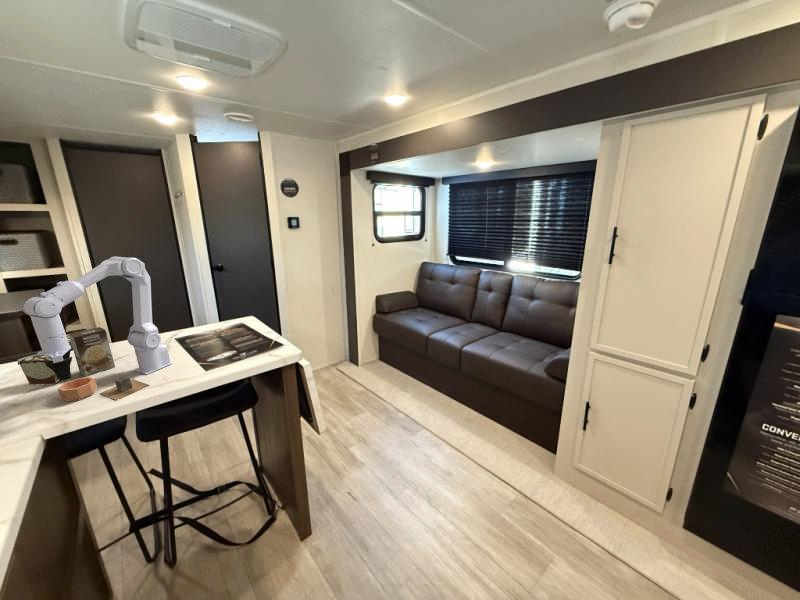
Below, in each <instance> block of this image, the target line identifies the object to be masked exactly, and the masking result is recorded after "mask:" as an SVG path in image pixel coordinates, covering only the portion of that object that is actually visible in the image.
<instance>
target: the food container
mask: <svg viewBox="0 0 800 600" xmlns="http://www.w3.org/2000/svg"><path fill="white" fill-rule="evenodd" d="M51 360H52V359H50V358H49V357H48V356H45V355H40V356H38V354H37V353H35V354H32V355H29V356H24V357H22V358H19V359H17V362H16V363H17V365H18V366H20V369H21V370H22V373H23V374H24V377H25V378H26V380H27V382H28V384H29V386H39V384H40V386H42V385H41V384H44V385H45V386H47V385H46V384H57V385H58V383H59V384H60V383H62V381H60V379H59V378H58V377H57V375H56V374H55V373H54V372H53V371H52V370H51V369H50V368H49V367H47V366H46V365H45V362H47V361H51ZM37 384H38V385H37ZM44 385H43V386H44Z"/></svg>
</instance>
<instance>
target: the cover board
mask: <svg viewBox="0 0 800 600" xmlns="http://www.w3.org/2000/svg"><path fill="white" fill-rule="evenodd" d="M114 383H115V385H116V386H113V387H111V388H109V389H106V390H104V391H102V392H99V394H100V395H101V394H102V396H104V395H105V396H104V397H106V396H107V397H106V398H109V397H110V398H109V399H111V398H112V399H111V400H113V399H114V401H116V400H117V401H119V400H121V399H123V398H125V397H128V396H130V395H132V394H135V393H137V392H139V391H141V390H143V388H144V389H146V388H147V387H150V386H151V385H150V384H148V383H144V382H143V381H139V380H136V379H133V378H132V379H131V378H130V377H129V376H126V375H124V376H122V377H118V378H116V379H114ZM145 387H146V388H145ZM118 399H119V400H118Z"/></svg>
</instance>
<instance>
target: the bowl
mask: <svg viewBox="0 0 800 600" xmlns="http://www.w3.org/2000/svg"><path fill="white" fill-rule="evenodd" d="M97 389H98V386H97V381H96V379H95V378H93V377H91V376H84V377H80V378H76V379H72V380H70V381H68V382H64V383H62V384H61V385H60V386H59V387H58V388H57V390H58V393H59V395H60V399H61V400H64V401H66V402H75V400H77V401H79V399H81V400H83V398H84V399H86V398H88V397H90V396H92V395H93V394H94V393H95V392H96V390H97ZM94 391H95V392H94ZM91 394H92V395H91ZM89 395H90V396H89ZM87 396H88V397H87ZM85 397H86V398H85Z"/></svg>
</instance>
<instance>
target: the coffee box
mask: <svg viewBox="0 0 800 600" xmlns="http://www.w3.org/2000/svg"><path fill="white" fill-rule="evenodd" d="M68 337H69V340H70V345H71V349H72V350H73V354H74V357H75V358H74V359H75V361H76V365H77V368H78V371H79V373H80V374H81V375H83V376H84V377H90V376H91V375H95V374H98V373H101V372H103V371H104V372H105V371H107V370H110V369H114V368H116V364H115V361H114V357H113V353H112V349H111V345H110V342H109V339H108V338H109V337H108V335H107V329H105V328H103V327H100V326H98V327H94V328H93V327H92V328H88V329H84V330H80V331H76V332H75V331H74V332H70V333H68ZM113 367H114V368H113Z"/></svg>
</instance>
